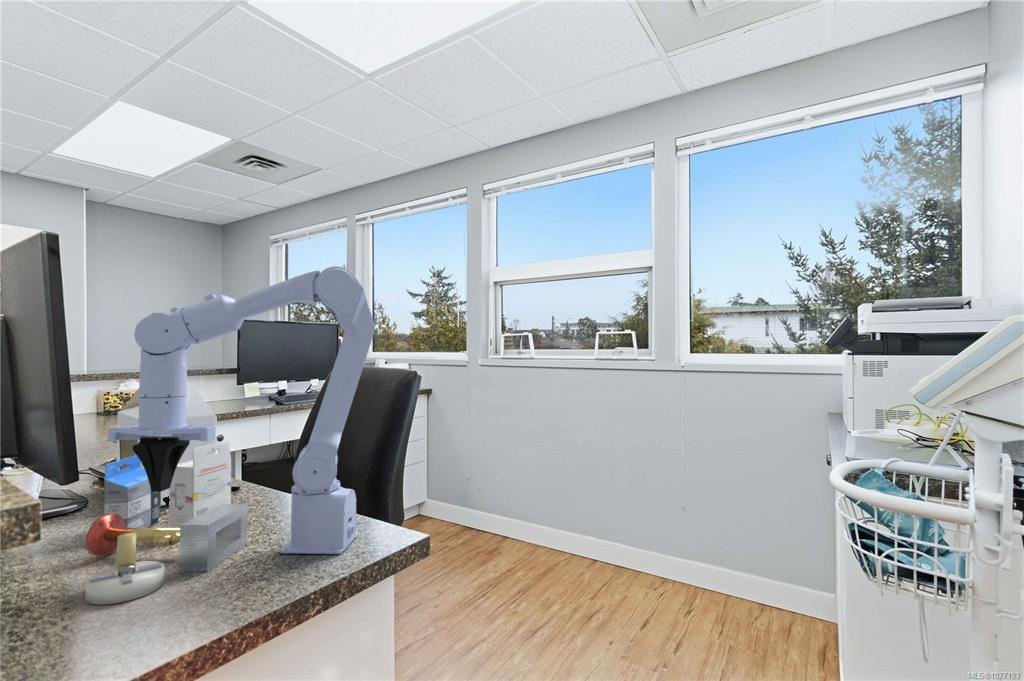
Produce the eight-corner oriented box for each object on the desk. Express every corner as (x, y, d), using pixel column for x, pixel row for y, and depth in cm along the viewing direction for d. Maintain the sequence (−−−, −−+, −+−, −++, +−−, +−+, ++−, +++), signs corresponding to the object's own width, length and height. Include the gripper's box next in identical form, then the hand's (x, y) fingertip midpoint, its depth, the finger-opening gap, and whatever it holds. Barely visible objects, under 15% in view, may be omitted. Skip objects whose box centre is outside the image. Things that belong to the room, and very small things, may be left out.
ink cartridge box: (207, 519, 91) (209, 439, 91) (231, 521, 90) (233, 440, 90) (166, 536, 82) (168, 447, 83) (191, 538, 81) (194, 448, 82)
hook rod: (198, 547, 77) (199, 509, 77) (172, 562, 71) (173, 522, 71) (117, 546, 77) (118, 508, 77) (84, 562, 71) (85, 521, 71)
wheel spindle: (139, 570, 64) (139, 563, 64) (128, 576, 63) (128, 569, 63) (125, 570, 64) (125, 563, 64) (113, 576, 63) (114, 569, 63)
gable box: (215, 496, 106) (218, 365, 107) (140, 510, 96) (144, 366, 97) (183, 478, 121) (186, 364, 121) (114, 489, 111) (118, 364, 112)
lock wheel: (166, 591, 63) (167, 544, 63) (83, 611, 58) (85, 560, 58) (161, 569, 69) (163, 526, 69) (86, 585, 64) (88, 539, 64)
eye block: (246, 544, 79) (247, 503, 79) (207, 571, 69) (208, 525, 69) (221, 544, 79) (222, 503, 79) (178, 571, 69) (180, 524, 69)
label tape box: (127, 539, 81) (130, 463, 81) (101, 540, 81) (103, 464, 81) (161, 521, 90) (163, 453, 90) (138, 522, 89) (140, 453, 90)
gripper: (91, 398, 69) (87, 497, 68) (194, 399, 69) (191, 498, 68) (130, 394, 76) (128, 484, 75) (224, 395, 76) (222, 484, 75)
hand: (160, 489), depth 72 cm, fingers closed
